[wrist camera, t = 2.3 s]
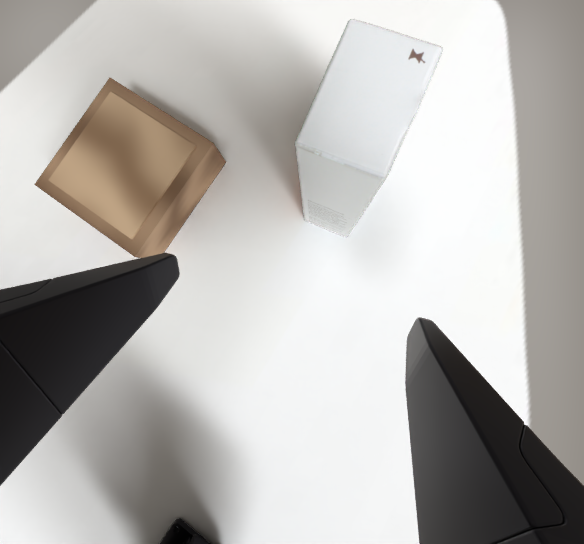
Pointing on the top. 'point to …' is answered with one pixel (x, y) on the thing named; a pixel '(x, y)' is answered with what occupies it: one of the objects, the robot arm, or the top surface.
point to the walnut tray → (131, 171)
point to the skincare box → (360, 121)
